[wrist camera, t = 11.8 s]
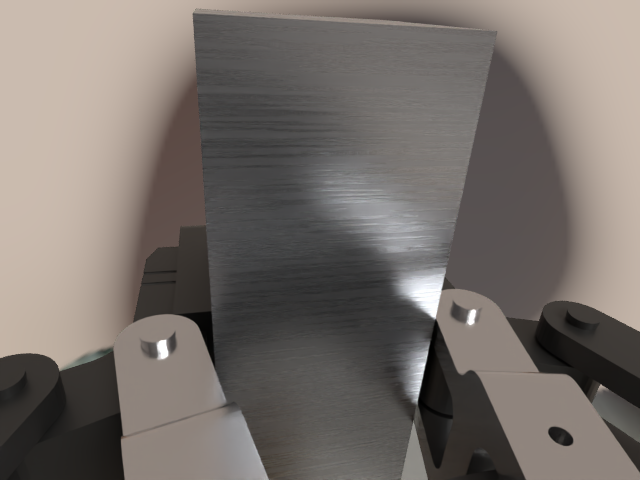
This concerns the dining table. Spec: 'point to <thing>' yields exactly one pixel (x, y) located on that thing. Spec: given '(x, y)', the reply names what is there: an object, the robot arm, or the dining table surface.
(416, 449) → the dining table surface
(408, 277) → the bar
